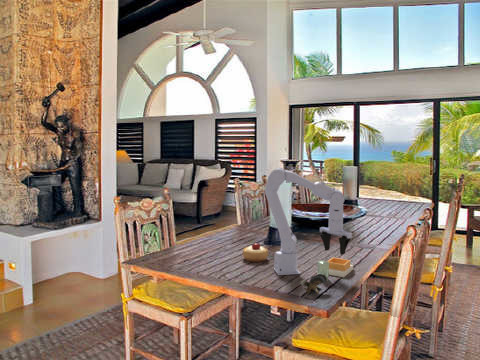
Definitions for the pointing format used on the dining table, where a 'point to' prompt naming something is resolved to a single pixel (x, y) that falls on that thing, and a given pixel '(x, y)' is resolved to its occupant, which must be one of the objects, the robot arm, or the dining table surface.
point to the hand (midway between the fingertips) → (334, 252)
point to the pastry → (255, 253)
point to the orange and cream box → (339, 267)
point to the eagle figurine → (314, 282)
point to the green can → (323, 268)
